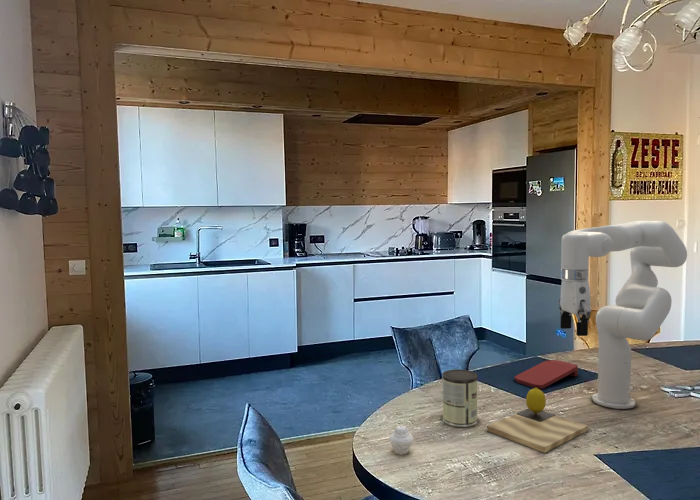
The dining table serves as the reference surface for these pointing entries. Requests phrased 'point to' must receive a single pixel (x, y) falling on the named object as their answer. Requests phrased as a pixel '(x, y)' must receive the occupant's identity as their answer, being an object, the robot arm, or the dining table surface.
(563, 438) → the board
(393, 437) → the white rounded piece
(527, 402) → the lemon
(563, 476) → the dining table surface
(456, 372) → the coffee can
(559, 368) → the red sloped ramp
